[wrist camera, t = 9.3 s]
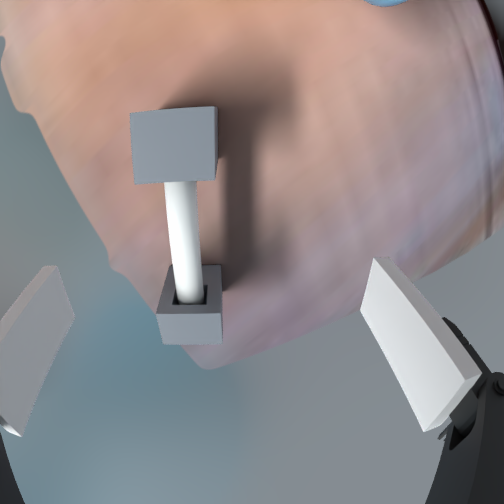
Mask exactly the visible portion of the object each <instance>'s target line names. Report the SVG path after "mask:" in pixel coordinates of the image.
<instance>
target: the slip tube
mask: <svg viewBox="0 0 504 504" xmlns="http://www.w3.org/2000/svg"><path fill="white" fill-rule="evenodd" d="M164 186H165V198H166V209H167V220H168V229H169V238H170V247H171V255H172V263H173V270H174V278H175V285H176V291H177V298H178V304H179V305H205V301H204V290H203V278H202V266H201V253H200V239H199V223H198V206H197V185H196V181H182V182H164Z"/></svg>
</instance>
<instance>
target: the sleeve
mask: <svg viewBox="0 0 504 504" xmlns="http://www.w3.org/2000/svg"><path fill="white" fill-rule="evenodd" d="M130 131H131V147H132V161H133V172H134V183H135V184H148V183H164V182H182V181H206V180H215V178H216V170H217V163H218V107H215V106H210V107H189V108H175V109H163V110H153V111H144V112H136V113H130Z"/></svg>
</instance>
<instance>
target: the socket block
mask: <svg viewBox="0 0 504 504" xmlns="http://www.w3.org/2000/svg"><path fill="white" fill-rule="evenodd" d="M201 266H202V278H203V290H204V301H205V305H179V304H178V298H177V291H176V285H175V278H174V270H173V266H169V269H168V273H167V276H166V280H165V283H164V287H163V290H162V294H161V297H160V301H159V304H158V308H157V312H156V316H157V321H158V325H159V329H160V333H161V337H162V341H163V344H223V327H222V278H221V265H201Z"/></svg>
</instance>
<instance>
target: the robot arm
mask: <svg viewBox="0 0 504 504" xmlns="http://www.w3.org/2000/svg"><path fill="white" fill-rule="evenodd" d="M364 1H366V2H368V3H369V4H372V5H376V6H380V7H388V6H394V5H397V4H400V3H403V2H405V1H408V0H364ZM360 311H361V313H362V315H363V317H364V318H365V320H366V322H367V324H368V325H369V327H370V329H371V331H372V333H373V334H374V336H375V338H376V340H377V342H378V343H379V345H380V347H381V349H382V351H383V352H384V354H385V356H386V358H387V360H388V362H389V364H390V366H391V368H392V369H393V371H394V373H395V375H396V377H397V379H398V381H399V383H400V385H401V387H402V389H403V391H404V393H405V395H406V397H407V399H408V401H409V403H410V405H411V407H412V409H413V411H414V413H415V415H416V417H417V419H418V421H419V424H420V426H421V428H422V430H423V432H425V431H428V430H430V429H433V428H435V427H437V426H440V425H441V424H442V423H443V422H444V421H445V420H446V419H447V417H448V416H450V418H451V419H452V422H451V423H450V424H449V425H448V426H447V428H445V430H444V431H443V432H442V433H441V434H440V435H439V437H438V439H439V440H440V439H441V438H442V437H443V436H444V435H445V434H446V433H447V435H446V438H445V439H444V441H445V443H444V447H443V451H442V455H441V458H440V462H439V465H438V468H437V472H436V475H435V478H434V481H433V484H432V487H431V489H430V492H429V495H428V498H427V500H426V503H425V504H504V374H503V373H500V372H495V373H491V371H490V370H489V369H488V367H487V366H486V365H485V363H484V362H483V360H482V359H481V358H480V357H479V355H478V354H477V352H476V351H475V350H474V348H473V347H472V346H471V344H470V345H469V342H468V341H467V339H466V338H465V337H463V334H462V333H461V331H460V330H459V329H458V328H457V326H456V325H455V324H453V323H452V322H451V321H449V320H448V319H447V318H445V317H444V318H441V317H440V316H439V315H438V313H437V312H436V311H435V310H434V308H433V307H432V306H431V305H430V303H429V302H428V301H427V300H426V299H425V297H424V296H423V295H422V294H421V293H420V292H419V291H418V289H417V288H416V287H415V286H414V285H413V283H412V282H411V281H410V280H409V279H408V278H407V277H406V275H405V274H404V273H403V272H402V271H401V270H400V269H399V268H398V267H397V265H396V264H395V263H394V262H393V261H392V260H391V259H390V258H389V257H378V258H373V262H372V267H371V271H370V275H369V279H368V283H367V287H366V291H365V295H364V298H363V302H362V306H361V309H360ZM74 319H75V315H74V313H73V310H72V307H71V305H70V302H69V299H68V297H67V294H66V291H65V288H64V285H63V283H62V279H61V277H60V273H59V270H58V267H57V266H44V267H43V268H42V269H41V270H40V271H39V272H38V274H37V275H36V276H35V277H34V278H33V280H32V281H31V282H30V283H29V284H28V286H27V287H26V288H25V289H24V291H23V292H22V293H21V294H20V296H19V297H18V298H17V300H16V301H15V302H14V303H13V305H12V306H11V307H10V309H9V310H8V311H7V313H6V314H5V315H4V317H3V318H2V319H1V321H0V424H1V425H2V426H3V427H4V428H5V429H6V430H7V431H8V432H10V433H13V434H15V435H18V436H20V437H22V435H23V433H24V430H25V427H26V424H27V421H28V419H29V416H30V414H31V411H32V408H33V406H34V403H35V401H36V399H37V396H38V394H39V391H40V389H41V387H42V384H43V382H44V380H45V378H46V375H47V373H48V371H49V369H50V367H51V364H52V362H53V360H54V358H55V356H56V354H57V352H58V350H59V348H60V346H61V344H62V342H63V340H64V338H65V336H66V334H67V332H68V330H69V328H70V326H71V325H72V323H73V321H74ZM0 504H25V503H24V501H23V498H22V496H21V494H20V491H19V488H18V486H17V483H16V481H15V478H14V475H13V472H12V469H11V467H10V463H9V460H8V457H7V454H6V450H5V447H4V443H3V440H2V436H1V433H0Z"/></svg>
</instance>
